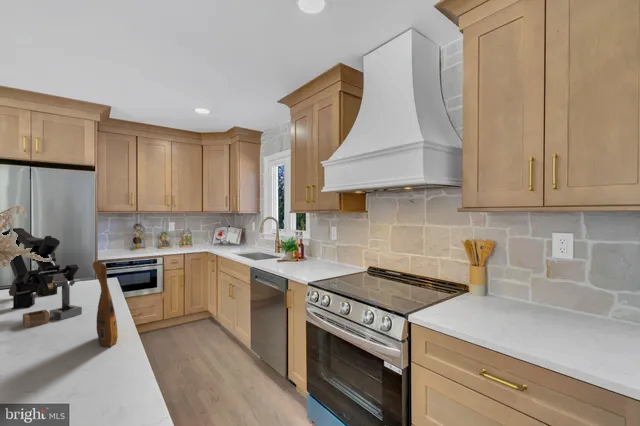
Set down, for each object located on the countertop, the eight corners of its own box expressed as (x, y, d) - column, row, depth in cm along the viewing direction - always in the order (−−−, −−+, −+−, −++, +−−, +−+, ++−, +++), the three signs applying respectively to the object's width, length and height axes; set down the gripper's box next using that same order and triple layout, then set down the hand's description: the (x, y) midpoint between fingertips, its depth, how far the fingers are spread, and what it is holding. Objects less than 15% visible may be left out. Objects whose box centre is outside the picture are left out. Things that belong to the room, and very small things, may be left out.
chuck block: (49, 317, 130) (49, 310, 130) (70, 311, 137) (70, 305, 137) (60, 319, 127) (60, 312, 127) (81, 313, 134) (81, 307, 134)
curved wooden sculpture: (94, 352, 97) (94, 266, 97) (92, 333, 112) (92, 259, 112) (119, 346, 102) (119, 264, 101) (114, 329, 116) (114, 257, 116)
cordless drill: (42, 299, 155) (42, 251, 155) (33, 293, 168) (33, 248, 168) (62, 296, 162) (62, 250, 162) (52, 290, 175) (52, 247, 175)
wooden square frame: (22, 323, 123) (22, 313, 123) (45, 318, 128) (45, 309, 128) (25, 327, 118) (25, 317, 118) (49, 322, 124) (49, 312, 124)
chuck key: (59, 318, 129) (59, 283, 128) (55, 317, 130) (55, 282, 129) (75, 313, 134) (75, 280, 134) (71, 313, 135) (71, 279, 135)
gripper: (61, 269, 148) (76, 293, 144) (11, 277, 131) (26, 305, 127) (71, 254, 145) (86, 278, 141) (21, 259, 128) (37, 288, 124)
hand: (60, 287), depth 133 cm, fingers open, 9 cm apart
